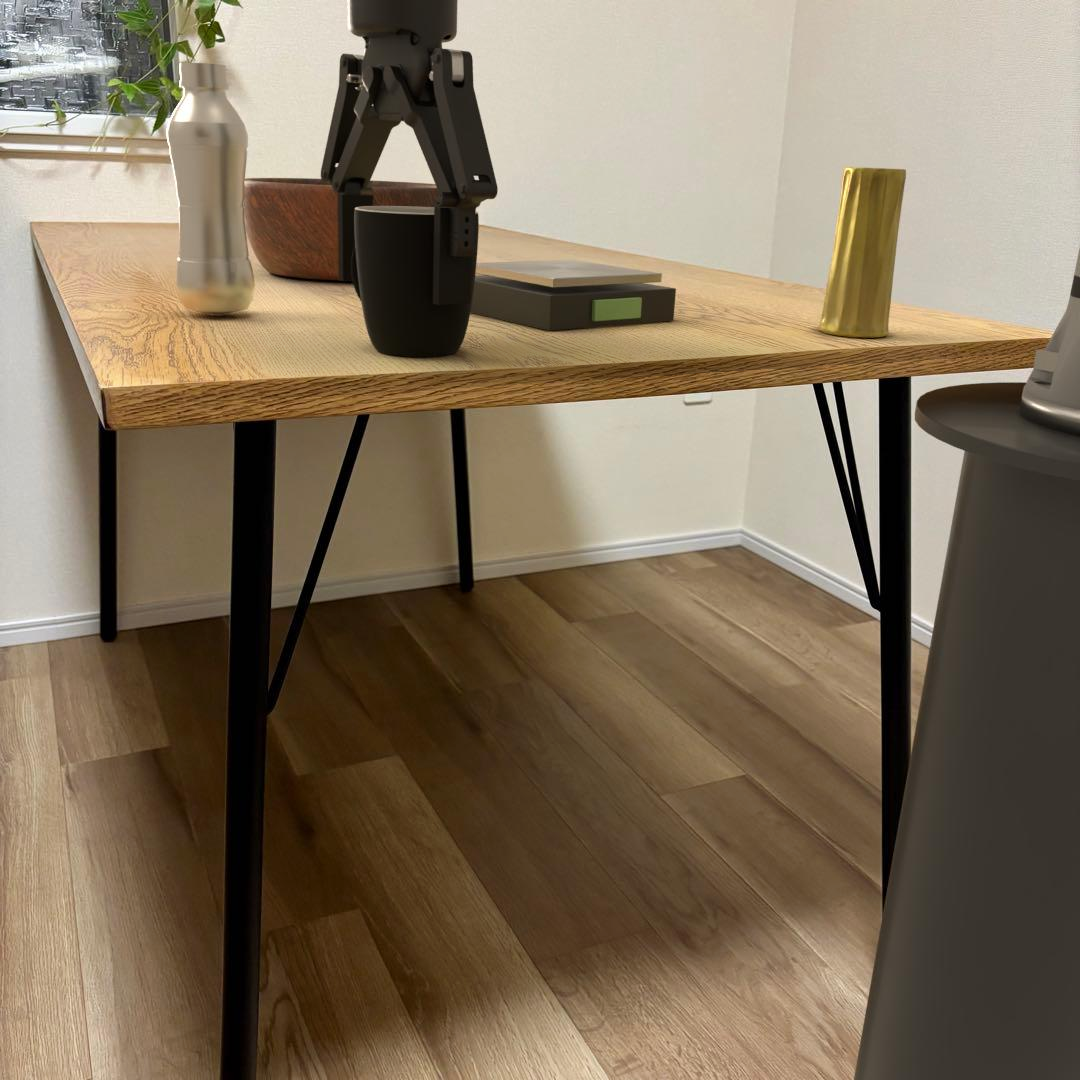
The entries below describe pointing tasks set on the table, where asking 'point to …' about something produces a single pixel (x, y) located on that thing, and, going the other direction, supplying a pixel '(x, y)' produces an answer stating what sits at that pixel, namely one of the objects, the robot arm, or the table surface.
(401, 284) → the mug
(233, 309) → the silver bottle
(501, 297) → the scale
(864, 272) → the vase
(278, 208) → the wooden bowl
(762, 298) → the table surface
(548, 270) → the scale pan
